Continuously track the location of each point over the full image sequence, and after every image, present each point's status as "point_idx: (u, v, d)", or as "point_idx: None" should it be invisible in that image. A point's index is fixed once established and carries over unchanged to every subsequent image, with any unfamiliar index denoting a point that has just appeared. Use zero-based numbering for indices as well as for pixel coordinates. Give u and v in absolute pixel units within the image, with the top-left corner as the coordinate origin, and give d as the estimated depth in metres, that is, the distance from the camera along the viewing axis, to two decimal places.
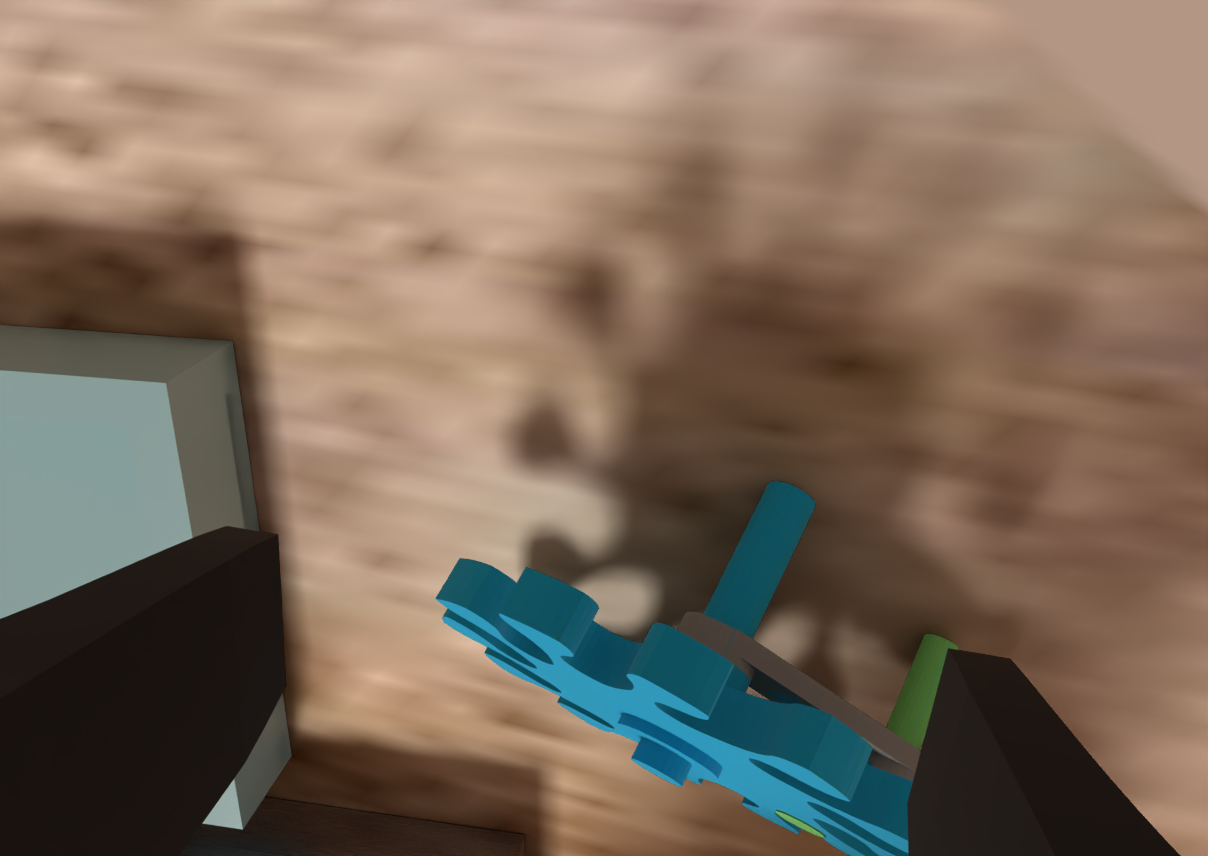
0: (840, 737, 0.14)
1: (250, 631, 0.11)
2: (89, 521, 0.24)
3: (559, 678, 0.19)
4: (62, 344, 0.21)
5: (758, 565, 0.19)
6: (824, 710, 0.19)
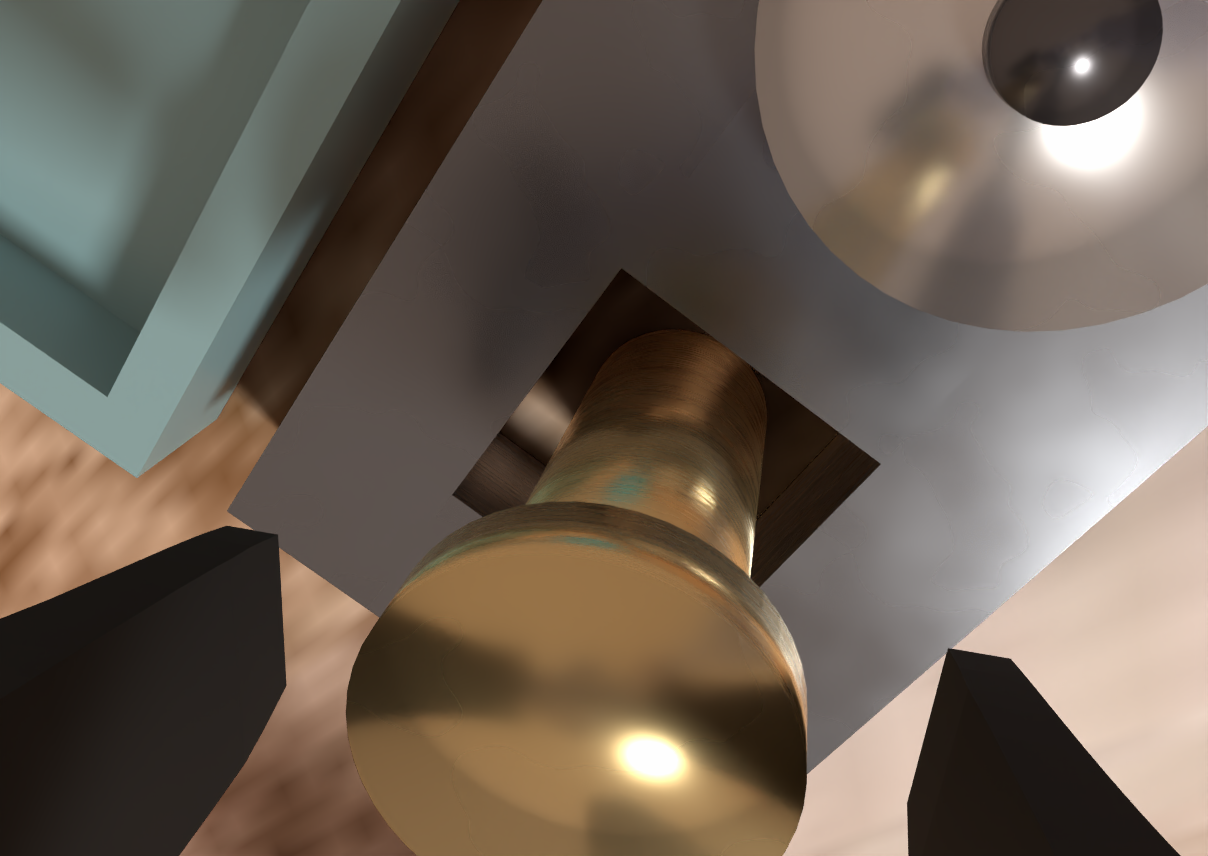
0: None
1: (250, 631, 0.11)
2: None
3: None
4: None
5: None
6: None
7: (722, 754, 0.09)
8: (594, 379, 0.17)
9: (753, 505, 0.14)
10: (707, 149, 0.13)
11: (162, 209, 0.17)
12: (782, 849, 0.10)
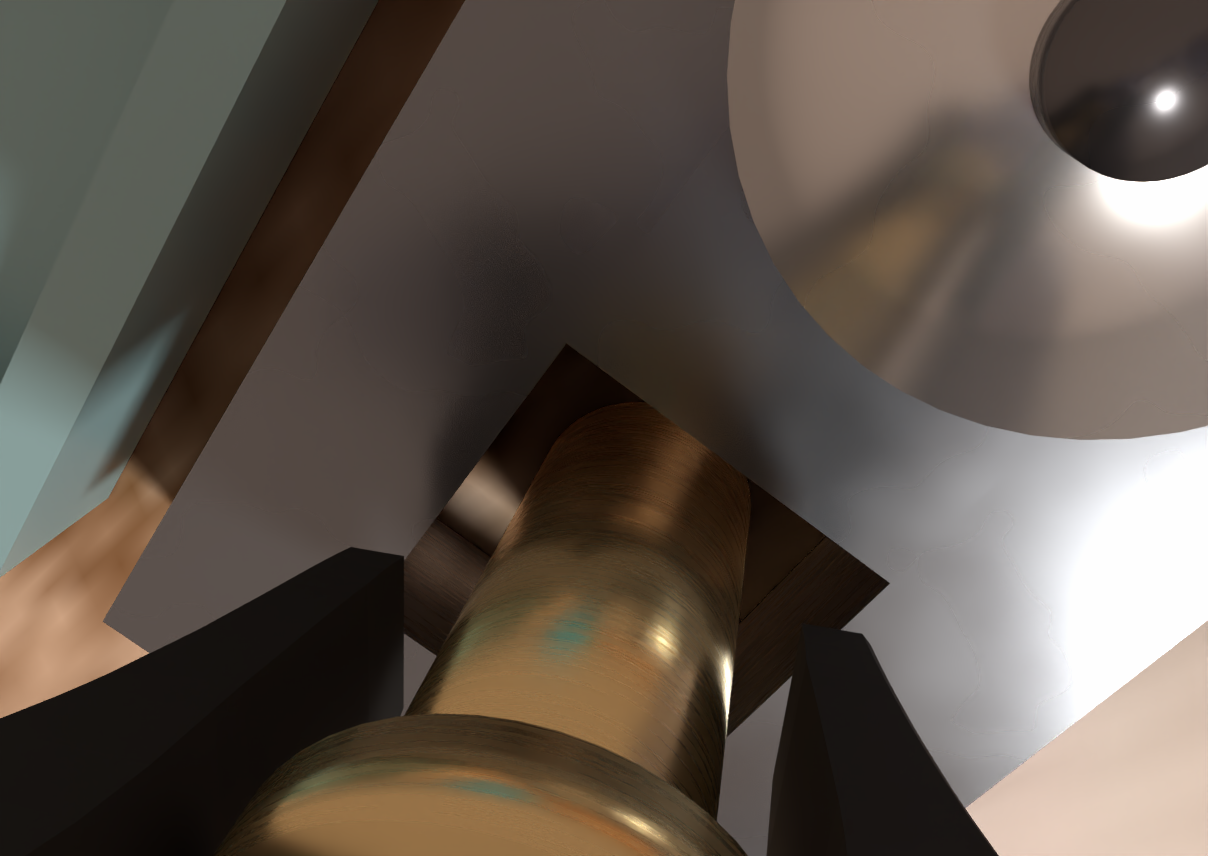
0: None
1: (379, 655, 0.11)
2: None
3: None
4: None
5: None
6: None
7: None
8: (543, 462, 0.14)
9: (730, 642, 0.11)
10: (671, 198, 0.10)
11: (27, 257, 0.14)
12: None
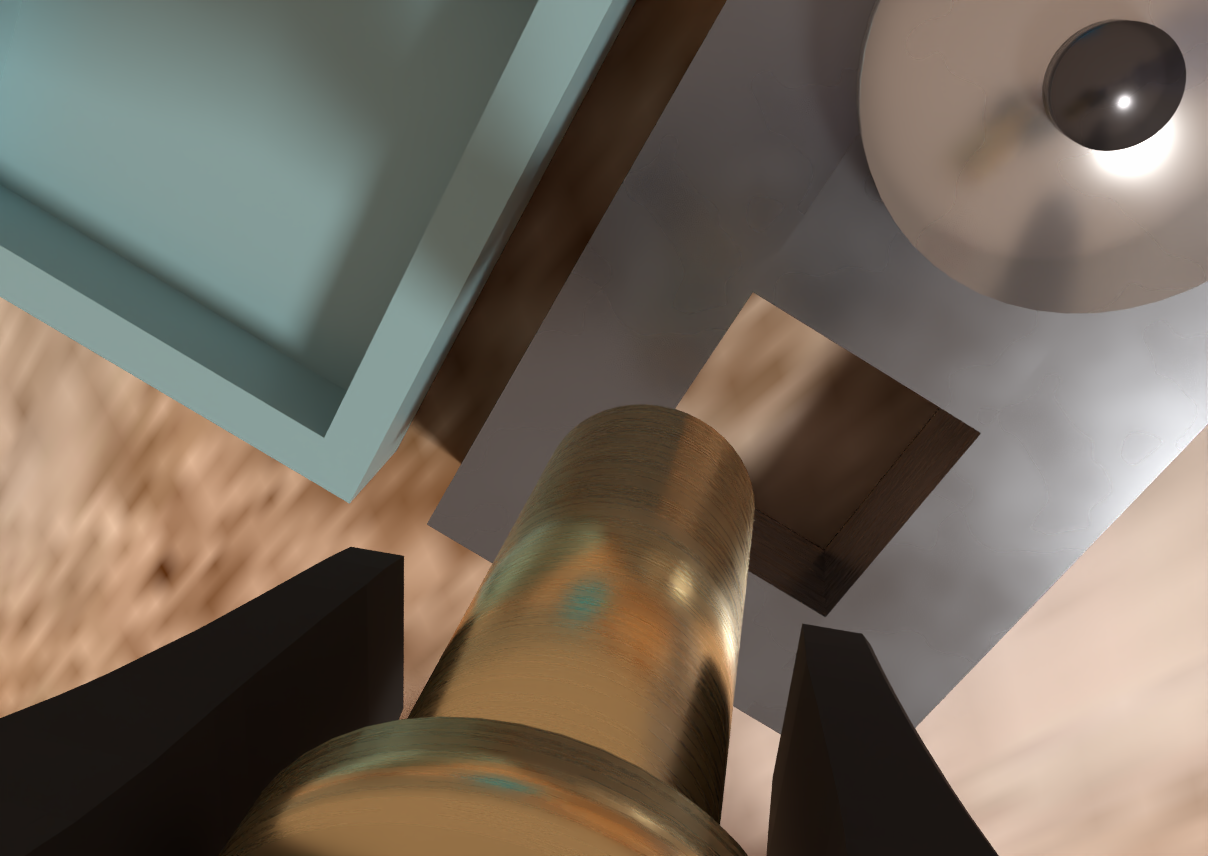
0: None
1: (379, 655, 0.11)
2: None
3: None
4: None
5: None
6: None
7: None
8: (547, 465, 0.14)
9: (734, 645, 0.11)
10: (819, 190, 0.16)
11: (351, 278, 0.20)
12: None
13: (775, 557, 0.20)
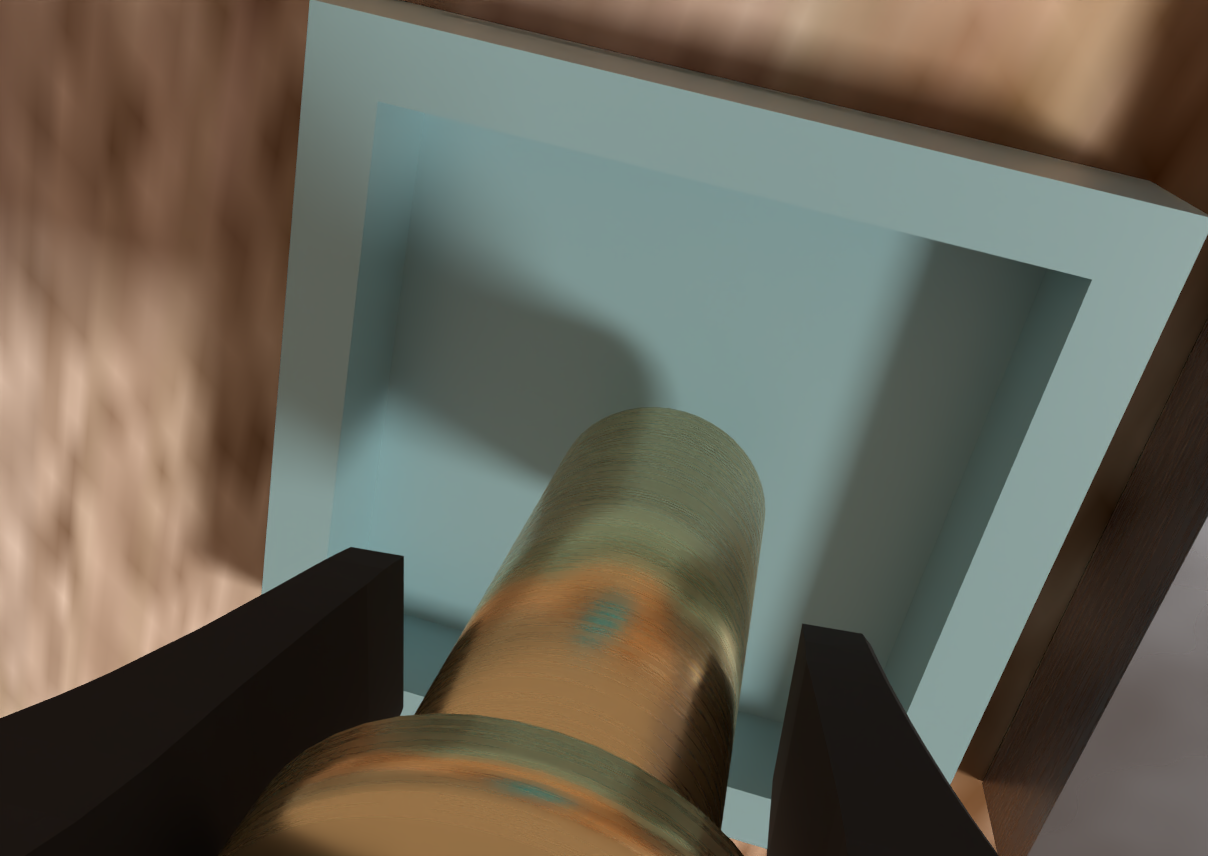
0: None
1: (379, 655, 0.11)
2: (614, 330, 0.16)
3: None
4: None
5: None
6: None
7: None
8: (558, 467, 0.14)
9: (739, 646, 0.11)
10: None
11: (819, 618, 0.17)
12: None
13: None
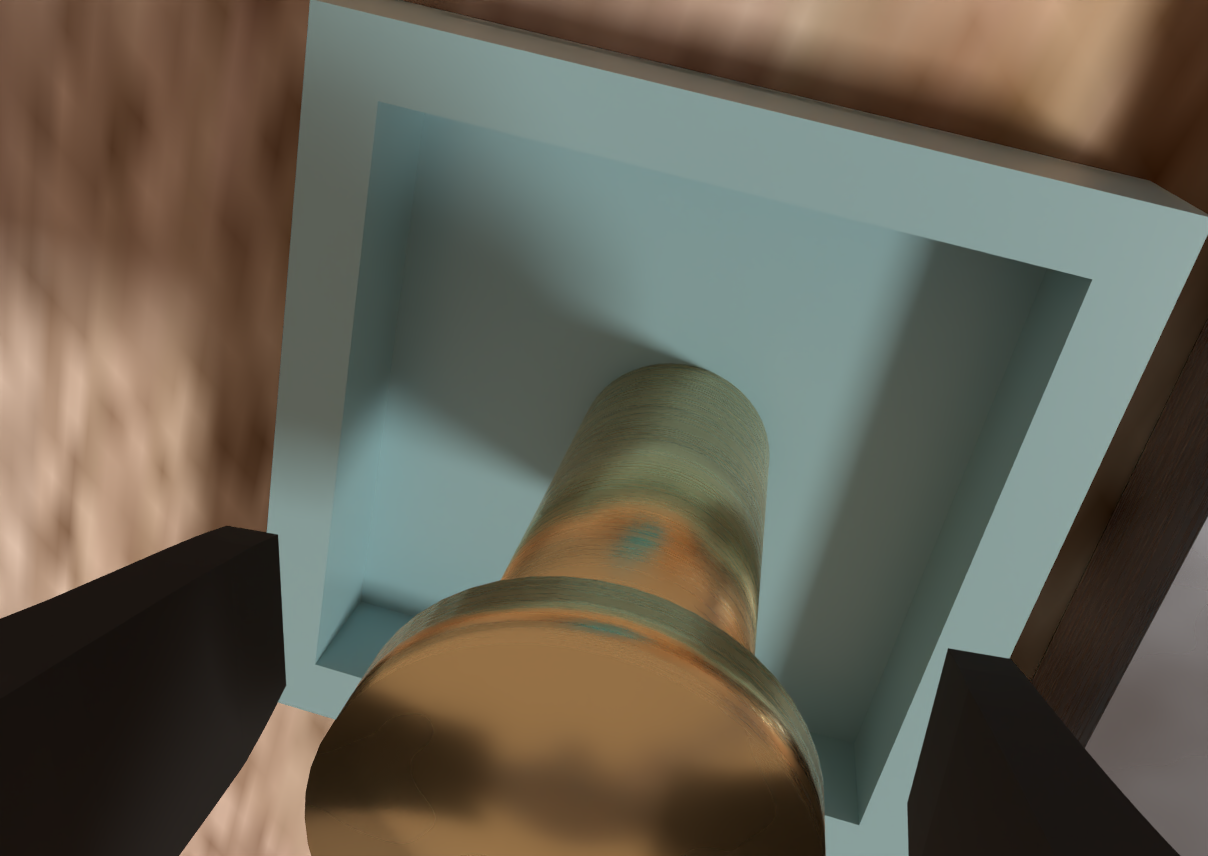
0: None
1: (250, 631, 0.11)
2: (614, 330, 0.16)
3: None
4: None
5: None
6: None
7: None
8: (584, 418, 0.16)
9: (757, 558, 0.13)
10: None
11: (819, 618, 0.17)
12: None
13: None
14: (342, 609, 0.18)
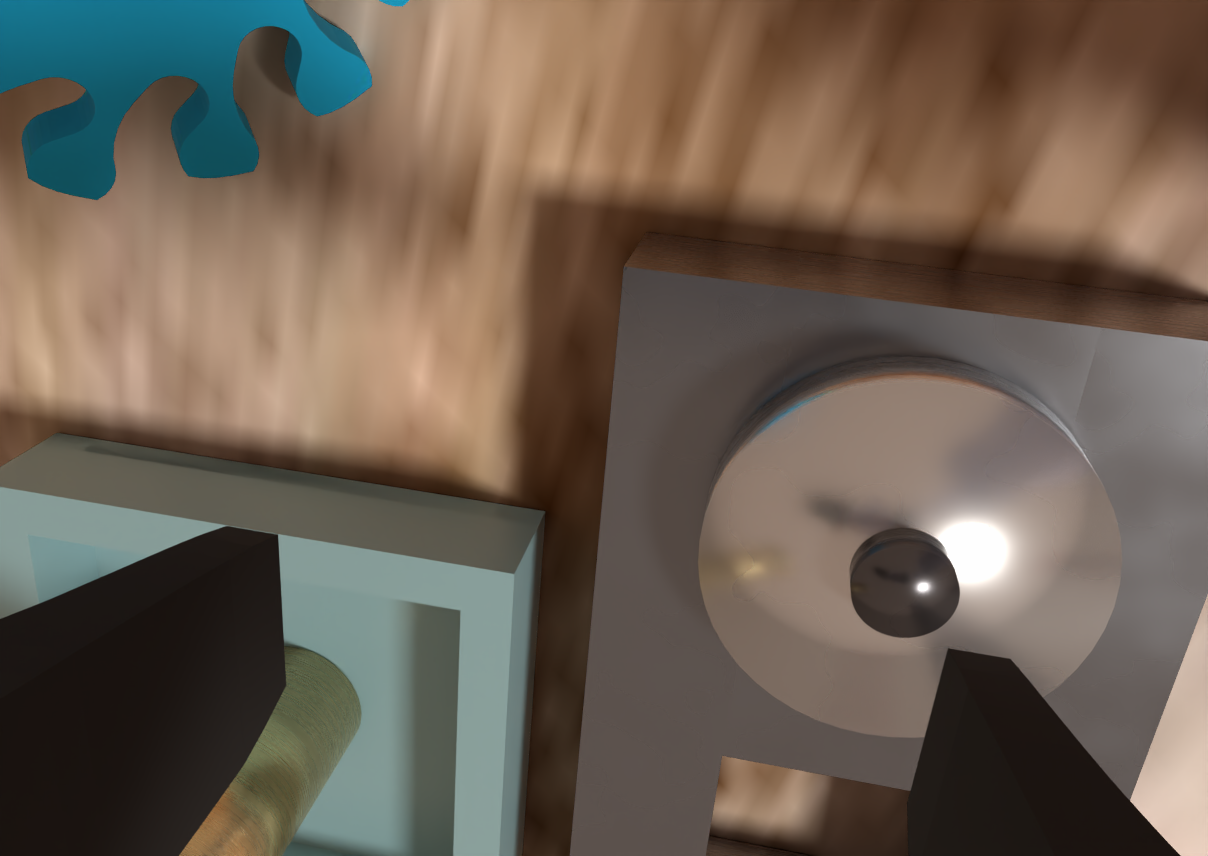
0: None
1: (250, 631, 0.11)
2: None
3: (54, 46, 0.15)
4: None
5: None
6: None
7: None
8: None
9: (277, 808, 0.20)
10: (734, 673, 0.19)
11: (424, 798, 0.24)
12: None
13: None
14: None
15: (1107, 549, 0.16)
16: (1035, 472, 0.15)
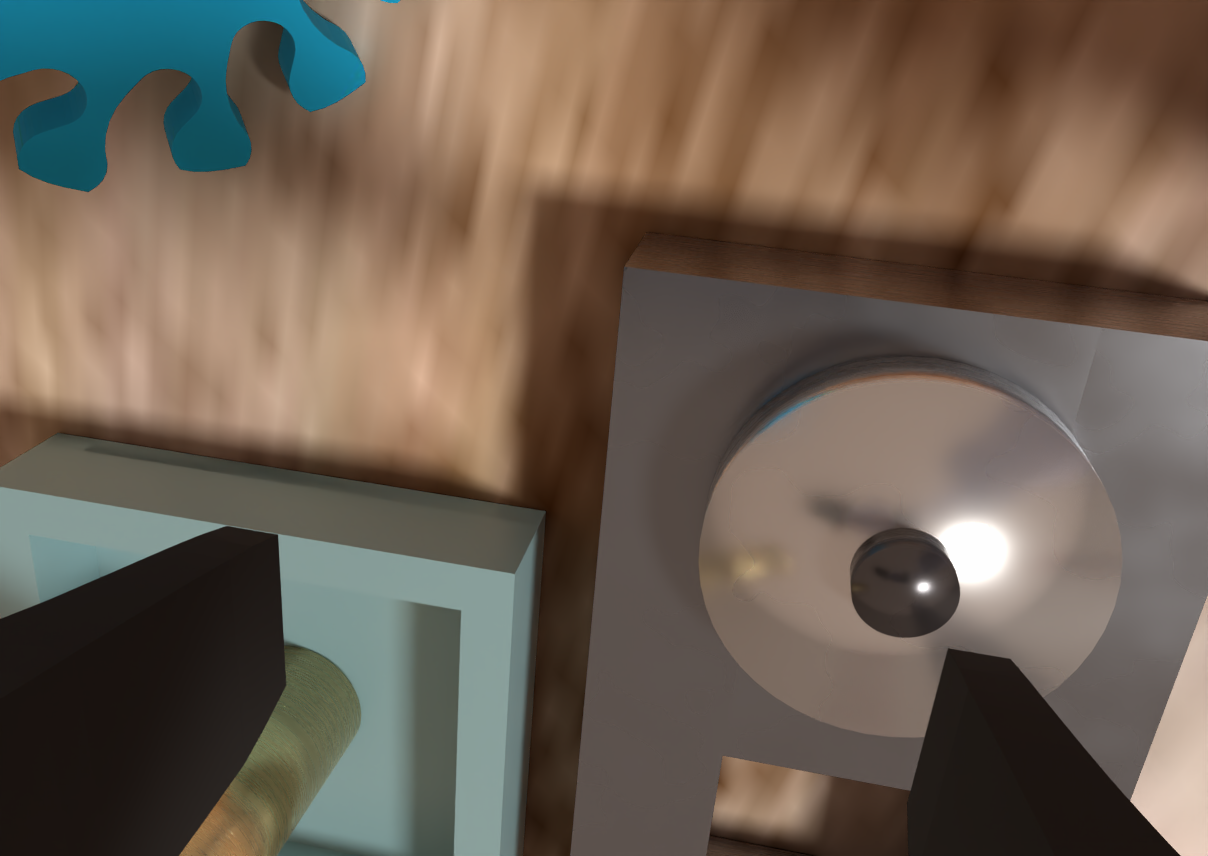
0: None
1: (250, 631, 0.11)
2: None
3: (46, 37, 0.15)
4: None
5: None
6: None
7: None
8: None
9: (272, 804, 0.20)
10: (734, 673, 0.19)
11: (425, 798, 0.24)
12: None
13: None
14: None
15: (1107, 549, 0.16)
16: (1035, 472, 0.15)
